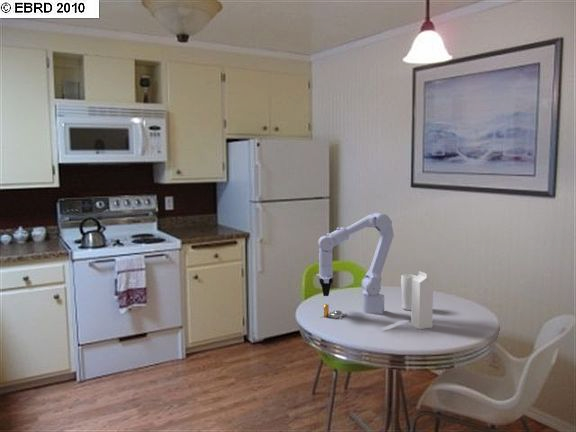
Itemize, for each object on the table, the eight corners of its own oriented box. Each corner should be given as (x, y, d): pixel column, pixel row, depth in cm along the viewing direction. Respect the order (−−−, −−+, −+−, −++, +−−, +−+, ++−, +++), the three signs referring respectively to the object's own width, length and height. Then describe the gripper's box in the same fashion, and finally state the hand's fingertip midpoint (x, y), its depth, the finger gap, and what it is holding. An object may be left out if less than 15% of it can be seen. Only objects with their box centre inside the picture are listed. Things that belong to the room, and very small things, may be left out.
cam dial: (344, 312, 209) (344, 301, 208) (349, 318, 201) (349, 306, 200) (321, 313, 207) (321, 302, 206) (326, 319, 199) (326, 308, 199)
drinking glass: (399, 310, 215) (399, 277, 214) (401, 305, 222) (402, 273, 220) (415, 311, 213) (415, 278, 211) (417, 307, 219) (417, 274, 217)
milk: (419, 329, 191) (419, 274, 188) (410, 324, 196) (411, 271, 194) (432, 327, 192) (433, 273, 190) (424, 322, 198) (425, 270, 196)
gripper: (316, 261, 213) (316, 291, 215) (316, 268, 199) (316, 300, 201) (332, 260, 213) (332, 291, 215) (333, 268, 199) (333, 300, 200)
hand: (326, 295), depth 208 cm, fingers closed
